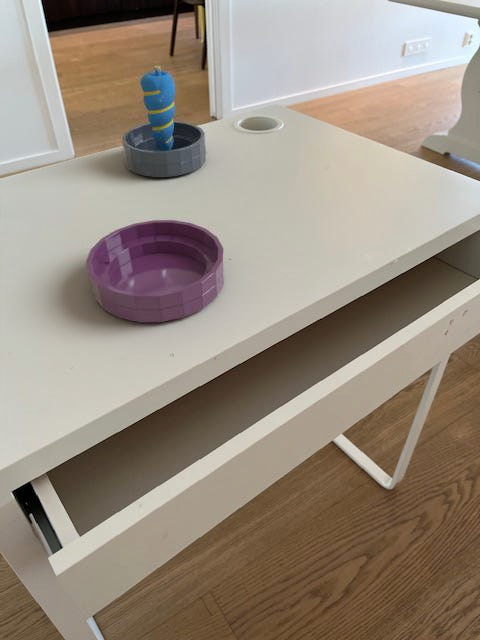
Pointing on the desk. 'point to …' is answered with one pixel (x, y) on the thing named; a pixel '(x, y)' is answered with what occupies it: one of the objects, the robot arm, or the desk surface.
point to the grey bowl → (174, 162)
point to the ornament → (160, 105)
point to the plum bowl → (156, 270)
